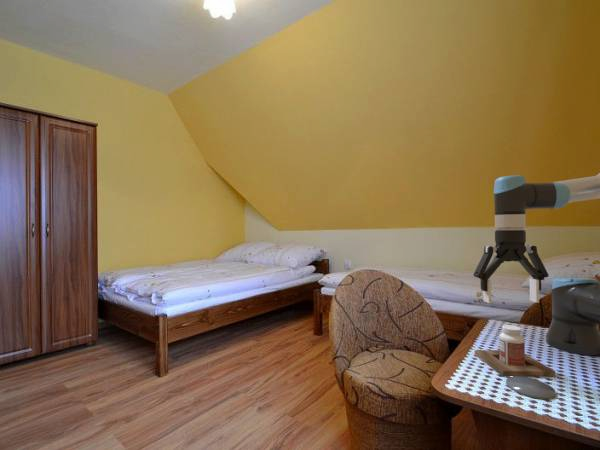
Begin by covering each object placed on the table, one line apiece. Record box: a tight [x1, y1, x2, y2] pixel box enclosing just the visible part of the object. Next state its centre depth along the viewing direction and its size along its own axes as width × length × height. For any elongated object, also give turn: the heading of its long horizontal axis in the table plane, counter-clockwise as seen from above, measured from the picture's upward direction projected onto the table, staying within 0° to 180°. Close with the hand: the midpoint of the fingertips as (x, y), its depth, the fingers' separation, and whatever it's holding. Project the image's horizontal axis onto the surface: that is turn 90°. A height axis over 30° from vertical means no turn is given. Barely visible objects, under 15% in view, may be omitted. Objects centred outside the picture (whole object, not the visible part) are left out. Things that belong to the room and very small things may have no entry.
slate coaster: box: [505, 376, 557, 400], centre depth 78 cm, size 10×10×1 cm
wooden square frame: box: [474, 349, 556, 378], centre depth 91 cm, size 14×14×2 cm
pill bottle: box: [498, 324, 526, 366], centre depth 91 cm, size 6×6×11 cm
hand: (510, 301), depth 91 cm, fingers open, 13 cm apart
